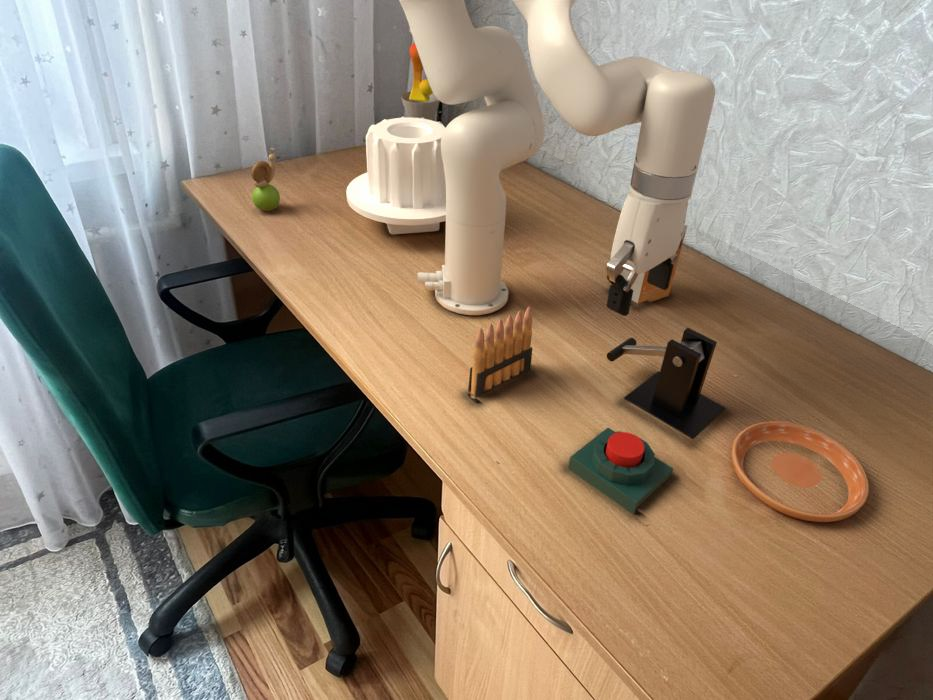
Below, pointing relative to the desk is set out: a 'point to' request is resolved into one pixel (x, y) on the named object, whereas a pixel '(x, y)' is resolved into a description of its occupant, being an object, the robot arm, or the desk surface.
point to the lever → (648, 349)
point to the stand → (680, 387)
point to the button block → (619, 472)
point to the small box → (646, 290)
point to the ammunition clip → (501, 354)
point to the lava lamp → (419, 92)
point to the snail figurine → (265, 184)
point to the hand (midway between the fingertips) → (637, 298)
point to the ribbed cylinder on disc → (402, 176)
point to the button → (624, 449)
